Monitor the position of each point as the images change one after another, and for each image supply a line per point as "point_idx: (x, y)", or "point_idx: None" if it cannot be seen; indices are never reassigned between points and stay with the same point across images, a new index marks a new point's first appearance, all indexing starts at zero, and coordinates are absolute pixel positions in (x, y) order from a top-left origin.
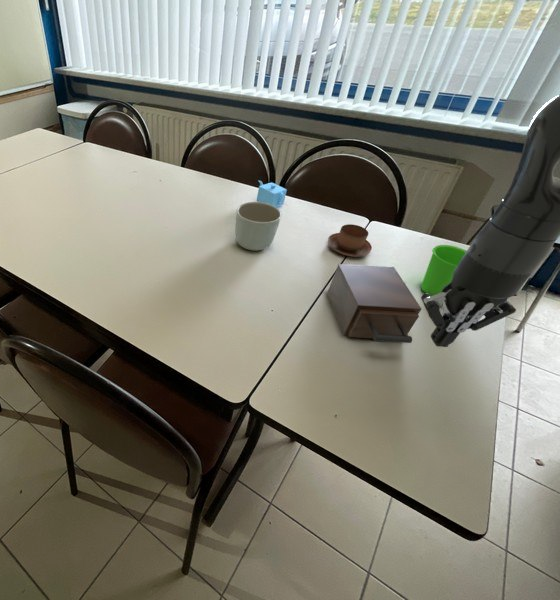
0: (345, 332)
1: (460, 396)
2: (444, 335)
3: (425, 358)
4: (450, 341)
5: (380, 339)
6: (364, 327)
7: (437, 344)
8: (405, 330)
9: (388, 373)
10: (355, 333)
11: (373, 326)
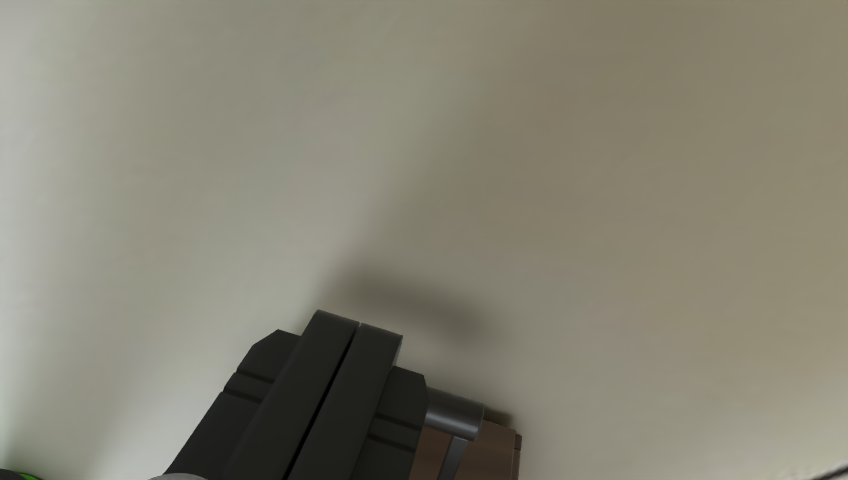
0: (519, 452)
1: (182, 38)
2: (358, 460)
3: (227, 253)
4: (294, 364)
5: (461, 406)
6: (461, 469)
7: (397, 355)
8: None
9: (448, 223)
10: (494, 443)
11: (443, 475)
